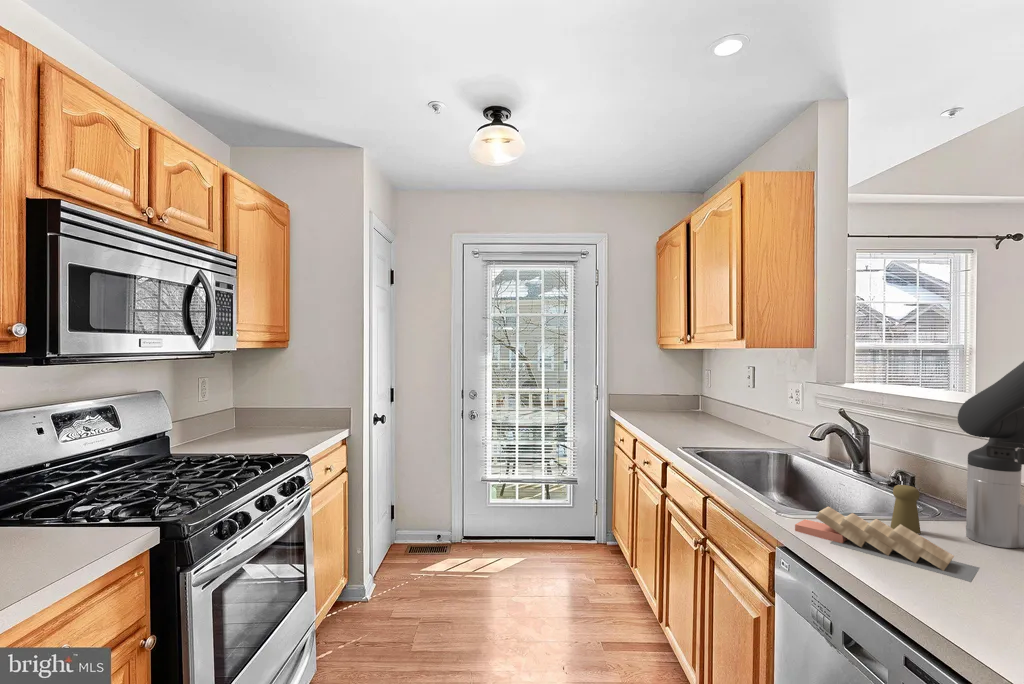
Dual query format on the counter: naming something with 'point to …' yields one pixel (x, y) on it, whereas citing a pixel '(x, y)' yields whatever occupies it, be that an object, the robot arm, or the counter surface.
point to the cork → (906, 508)
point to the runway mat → (952, 569)
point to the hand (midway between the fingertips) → (992, 448)
